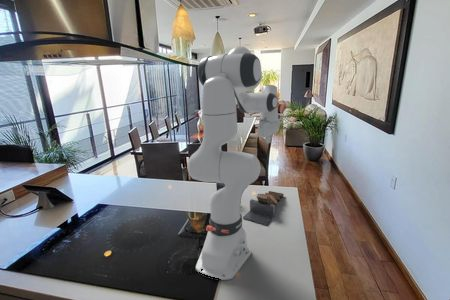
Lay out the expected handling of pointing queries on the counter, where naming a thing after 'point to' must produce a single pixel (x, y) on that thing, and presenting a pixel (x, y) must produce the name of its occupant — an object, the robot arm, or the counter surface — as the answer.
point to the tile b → (273, 196)
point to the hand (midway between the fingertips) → (268, 142)
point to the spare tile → (272, 199)
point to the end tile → (276, 193)
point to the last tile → (263, 198)
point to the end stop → (260, 212)
